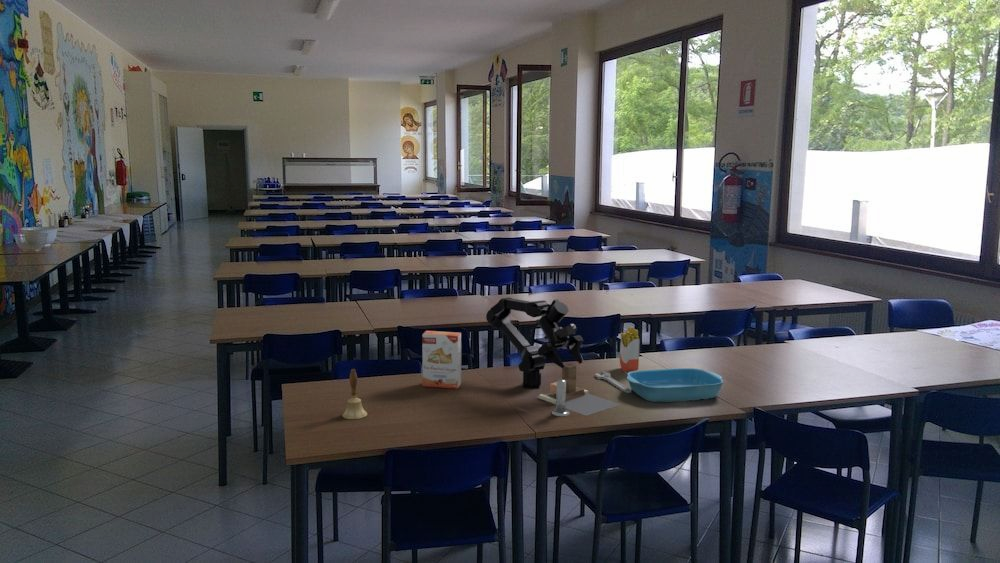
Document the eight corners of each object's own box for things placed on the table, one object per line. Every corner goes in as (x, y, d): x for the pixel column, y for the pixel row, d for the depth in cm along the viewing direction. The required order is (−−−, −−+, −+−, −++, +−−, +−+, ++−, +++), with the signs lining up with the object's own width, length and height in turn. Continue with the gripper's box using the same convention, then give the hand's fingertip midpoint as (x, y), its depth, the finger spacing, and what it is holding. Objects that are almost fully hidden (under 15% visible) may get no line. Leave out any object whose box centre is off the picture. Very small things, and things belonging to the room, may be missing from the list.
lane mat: (535, 398, 264) (535, 394, 264) (570, 388, 276) (570, 384, 275) (585, 416, 245) (586, 412, 245) (620, 405, 257) (621, 401, 256)
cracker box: (422, 387, 276) (421, 333, 273) (426, 382, 282) (425, 329, 278) (457, 389, 274) (457, 335, 270) (461, 384, 279) (461, 331, 276)
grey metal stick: (551, 417, 245) (552, 382, 243) (552, 411, 251) (552, 377, 249) (569, 417, 244) (570, 383, 242) (569, 411, 250) (570, 378, 248)
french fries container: (627, 375, 294) (629, 331, 291) (618, 367, 304) (620, 325, 301) (638, 374, 294) (640, 331, 291) (628, 367, 305) (630, 325, 302)
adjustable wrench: (633, 394, 271) (633, 390, 270) (617, 396, 269) (617, 391, 269) (607, 375, 295) (607, 370, 294) (592, 376, 293) (592, 372, 293)
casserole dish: (702, 382, 285) (703, 364, 284) (734, 400, 264) (735, 381, 263) (615, 389, 276) (616, 370, 275) (641, 408, 255) (642, 388, 254)
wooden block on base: (552, 399, 261) (553, 367, 259) (576, 393, 269) (576, 361, 267) (560, 402, 258) (561, 369, 256) (583, 395, 266) (584, 364, 264)
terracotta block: (550, 394, 267) (550, 383, 267) (559, 391, 271) (559, 381, 270) (559, 397, 264) (559, 387, 263) (569, 394, 267) (569, 384, 266)
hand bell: (338, 418, 242) (337, 372, 239) (347, 410, 250) (346, 365, 247) (362, 420, 241) (361, 373, 238) (370, 411, 249) (369, 366, 246)
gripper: (543, 320, 256) (565, 357, 249) (580, 313, 268) (602, 348, 261) (528, 338, 263) (549, 374, 257) (564, 331, 275) (585, 365, 269)
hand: (572, 365), depth 261 cm, fingers open, 9 cm apart
